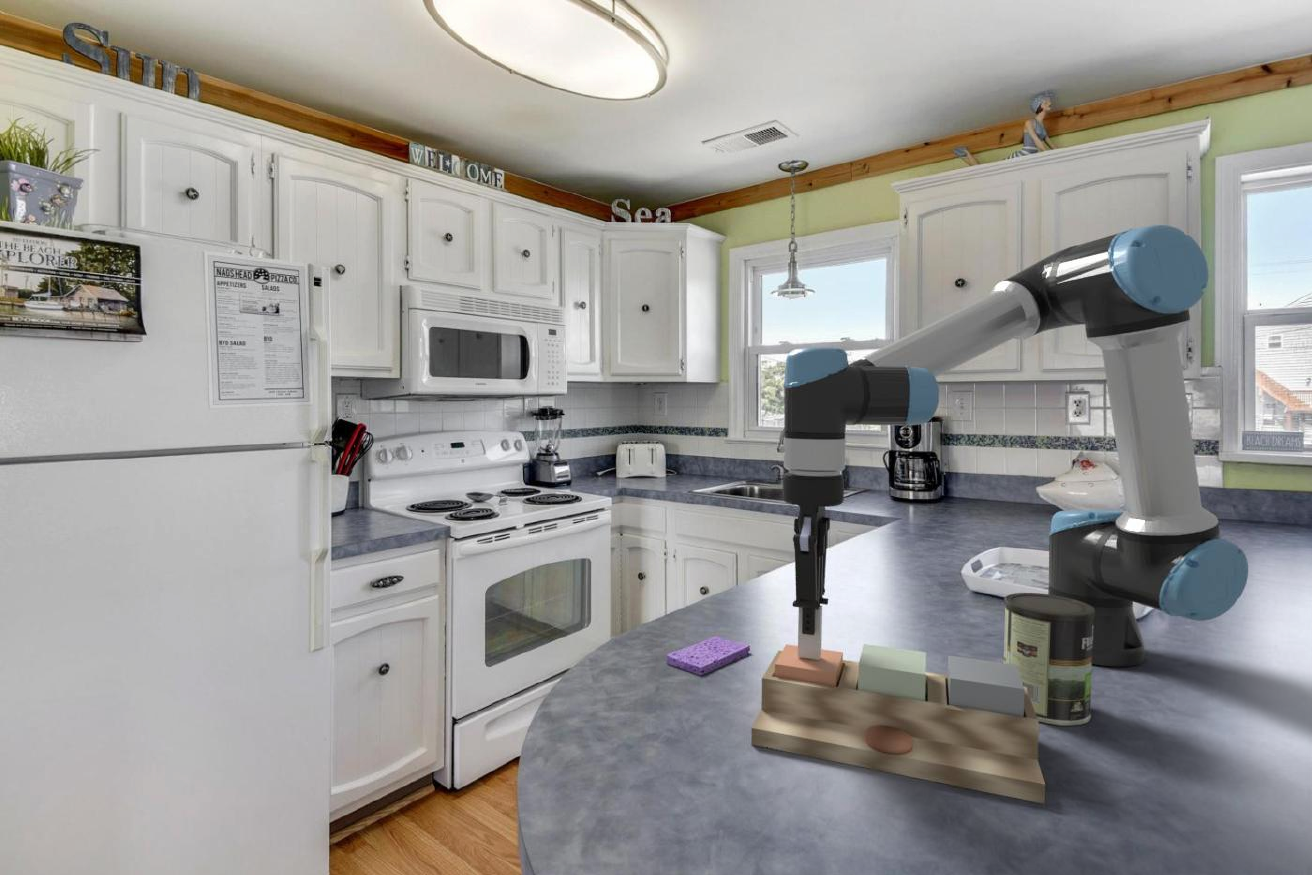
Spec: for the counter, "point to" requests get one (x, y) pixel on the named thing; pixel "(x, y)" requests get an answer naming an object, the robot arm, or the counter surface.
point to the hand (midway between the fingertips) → (809, 656)
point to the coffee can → (1052, 654)
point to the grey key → (985, 686)
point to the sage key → (892, 672)
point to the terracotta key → (810, 667)
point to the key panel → (903, 733)
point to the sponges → (707, 655)
